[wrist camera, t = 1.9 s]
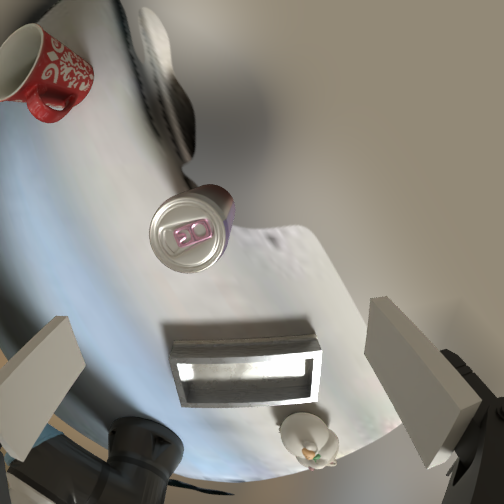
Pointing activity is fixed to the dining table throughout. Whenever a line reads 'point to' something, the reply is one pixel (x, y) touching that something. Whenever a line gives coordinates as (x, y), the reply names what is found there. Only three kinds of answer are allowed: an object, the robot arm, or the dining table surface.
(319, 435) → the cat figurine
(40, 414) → the robot arm
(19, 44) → the mug
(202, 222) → the beverage can
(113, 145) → the dining table surface
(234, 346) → the grey shallow rectangular tray
